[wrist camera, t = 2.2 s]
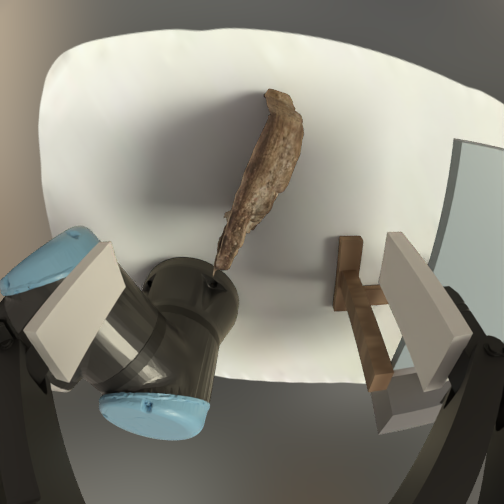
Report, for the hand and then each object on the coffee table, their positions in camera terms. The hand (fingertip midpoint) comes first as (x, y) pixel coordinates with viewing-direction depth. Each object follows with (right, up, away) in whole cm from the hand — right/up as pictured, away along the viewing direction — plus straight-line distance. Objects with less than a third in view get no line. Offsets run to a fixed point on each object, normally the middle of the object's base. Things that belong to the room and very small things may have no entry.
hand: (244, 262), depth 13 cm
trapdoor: (+22, -4, +11) cm, 25 cm away
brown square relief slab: (+1, +12, +21) cm, 24 cm away
